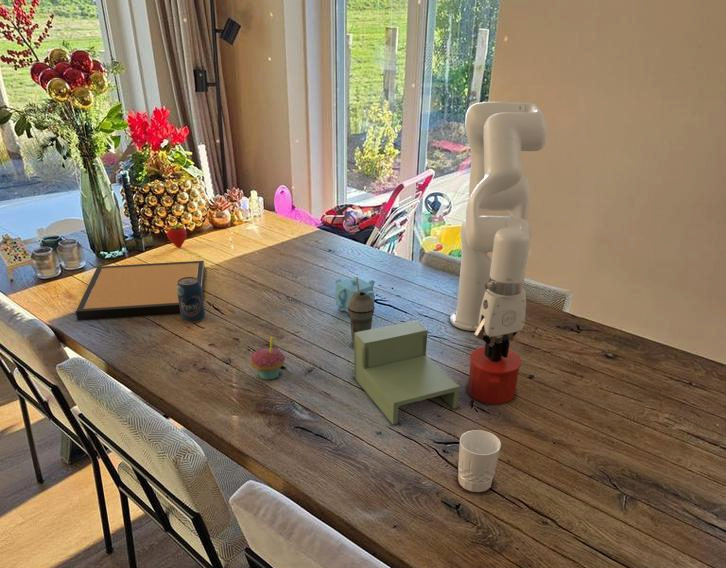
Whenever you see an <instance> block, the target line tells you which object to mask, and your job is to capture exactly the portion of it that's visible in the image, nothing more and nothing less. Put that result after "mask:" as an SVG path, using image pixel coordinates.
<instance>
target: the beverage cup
mask: <svg viewBox="0 0 726 568" xmlns="http://www.w3.org/2000/svg"><path fill="white" fill-rule="evenodd" d="M355 277H356V282H357V291H358V293H356V294H354V295H353V296H352V297H351V298H350V300H349V304H348V312H349V313H348V312H347V313H348V315H349V322H350V324H349V325H350V333H351V342H352V347H353V348H354V333H355V332H360V331H365V330H370V329H372V323H373V316H374V312H375V301H374V302H373V299H372V298H371V297H370V295H368V294H367V293H364V292H360V291H359V283H358V278H359V277H358V276H355Z"/></svg>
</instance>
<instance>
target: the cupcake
mask: <svg viewBox="0 0 726 568" xmlns="http://www.w3.org/2000/svg"><path fill="white" fill-rule="evenodd" d="M269 340H270V341H269V347H263V348H260V349H258V350H256V351H254V352H253V353H252V354H251V356H250V365H251V367H252V368H253V369H256V371H257V373H258V375H259V377H260V378H261V379H262V380H263V379H264V380H274V379H276V378H278V377H279V374H280V371H281V368H282V367H283V365H284V364H285V360H286V357H285V355H284V354H283V352H282V351H280V350H279V349H277V348H274V347H273V346H274V334H272V335H271V336H270V339H269Z"/></svg>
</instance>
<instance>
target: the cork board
mask: <svg viewBox="0 0 726 568" xmlns="http://www.w3.org/2000/svg"><path fill="white" fill-rule="evenodd" d="M205 272H206V265H205V260H191V261H175V262H173V261H172V262H153V263H138V264H119V265H101V266H96V268H95V270H94V272H93V275H92V277H91V279H90V281H89V283H88V285H87V287H86V289H85V291H84V293H83V296H82V298H81V300H80V301H79V304H78V306H77V307H76V310H75V314H76V315H75V316H76V319H77V321H85V320H100V319H101V320H102V319H116V318H117V319H118V318H130V317H131V318H133V317H144V316H145V317H147V316H160V315H161V316H163V315H177V314H181V312H180V306H179V300H178V294H177V288H176V287H177V284H178V280H179V279H181V278H185V277H194V278H197V279H198V282H199V283H200V284H201V289H202V294H203V292H204V283H205V282H204V281H205Z"/></svg>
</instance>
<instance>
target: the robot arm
mask: <svg viewBox="0 0 726 568" xmlns="http://www.w3.org/2000/svg"><path fill="white" fill-rule="evenodd" d="M464 121H465V134H466V138H467V142H468V145H469V150H470V170H469V185H468V189H469V190H468V200H467V205H466V209H465V219H464V221H462V223H461V226H460V245H461V246H460V247H461V253H460V254H461V256H460V259H461V260H460V269H459V281H458V290H457V291H458V292H457V300H456V301H457V302H456V311H454V312H453V313H451V315H450V319H449V320H450V323H451V324H452V325H453V326H454V327H456V328H458V329H460V330H464V331H469V332H474V333H473V336H474V337H475V338H477V339H478V340H482V341H483V342H484V343H485V346H484V347H485V352H484V354H485V356H486V357H487V358H488V359H489V360H491V361H494V358H495V351H496V346H495V345H494V343H495V339H496V338H497V337H499V336H500V337H499V338H501V339H503V340H504V345H503V352H502V356H503V357H504V358H506V357H507V356H508V351H509V350H510V344H511V343H512V342H513V340H514V337H515V336H516V335H517V334H518V332H520V331H522V329H524V327H525V323H526V322H525V321H526V313H527V311H526V310H527V295H526V290H525V289H524V283H525V278H526V277H525V276H526V271H527V270H526V269H527V264H528V257H529V251H530V244H531V239H532V238H531V237H532V227H531V225H530V223H529V222H528V217H529V208H530V198H531V187H530V182H529V179H528V178H527V177H526V175H524V174H523V160H522V156H523V155H522V152H539V151H541V150H543V148H544V146H545V145H546V142H547V139H548V123H547V119H546V116H545V114H544V113H543V111H542V110H541V109H540V108H539V107H538V105H537V104H536V103H533V102H521V101H520V102H516V101H514V102H513V101H511V102H510V101H509V102H508V101H484V102H483V101H481V102H476V103H474V104H472V105H470V106H469V107H468V108H467V111H466V113H465V119H464ZM480 211H484V212H485V211H488V212H508V213H509V215H480ZM488 253H492V254H491V256H490V255H489V254H488Z"/></svg>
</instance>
